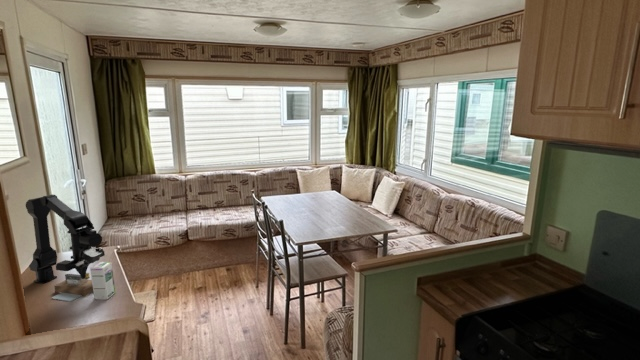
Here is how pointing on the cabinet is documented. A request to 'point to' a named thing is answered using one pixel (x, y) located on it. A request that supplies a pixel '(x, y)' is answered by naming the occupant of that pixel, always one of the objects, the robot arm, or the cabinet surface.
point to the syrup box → (102, 280)
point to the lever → (76, 276)
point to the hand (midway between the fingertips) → (83, 278)
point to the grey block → (76, 281)
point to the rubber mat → (66, 296)
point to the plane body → (75, 288)
